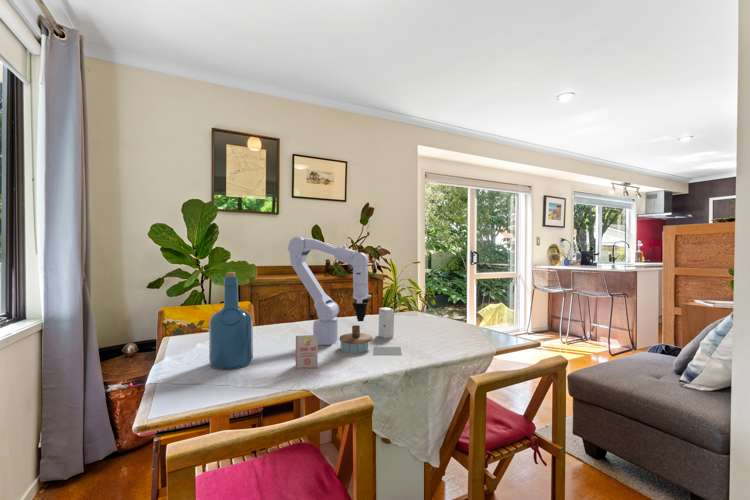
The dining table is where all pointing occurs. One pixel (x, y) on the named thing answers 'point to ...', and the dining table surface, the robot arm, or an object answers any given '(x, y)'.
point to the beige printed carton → (306, 352)
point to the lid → (355, 336)
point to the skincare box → (386, 322)
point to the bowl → (354, 347)
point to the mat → (387, 351)
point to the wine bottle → (230, 331)
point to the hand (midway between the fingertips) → (361, 319)
